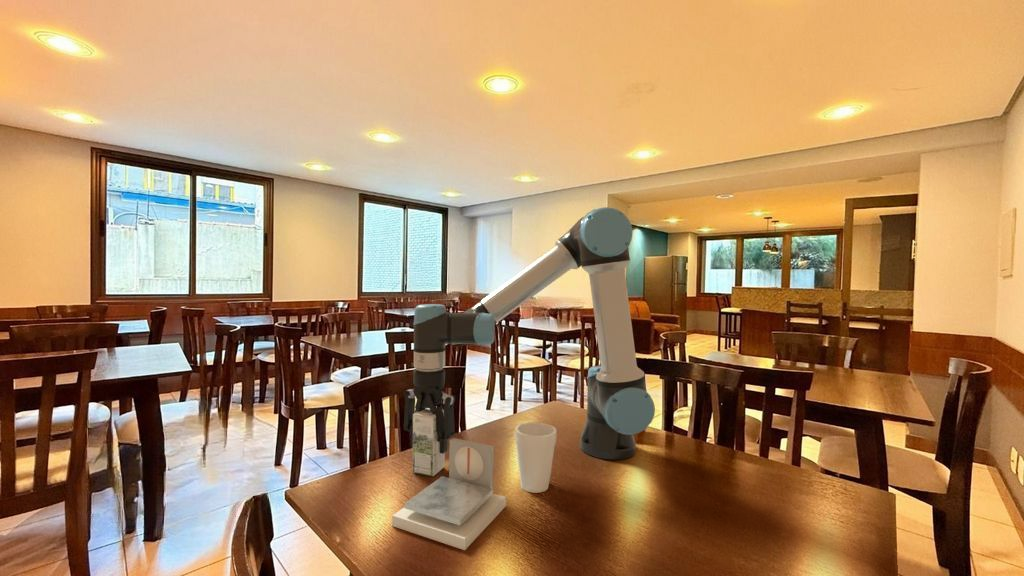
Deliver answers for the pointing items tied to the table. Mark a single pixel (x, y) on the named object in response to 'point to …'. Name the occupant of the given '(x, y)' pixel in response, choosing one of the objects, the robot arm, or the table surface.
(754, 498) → the table surface
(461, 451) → the scale base
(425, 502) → the scale pan
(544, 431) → the foam cup
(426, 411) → the syrup box
